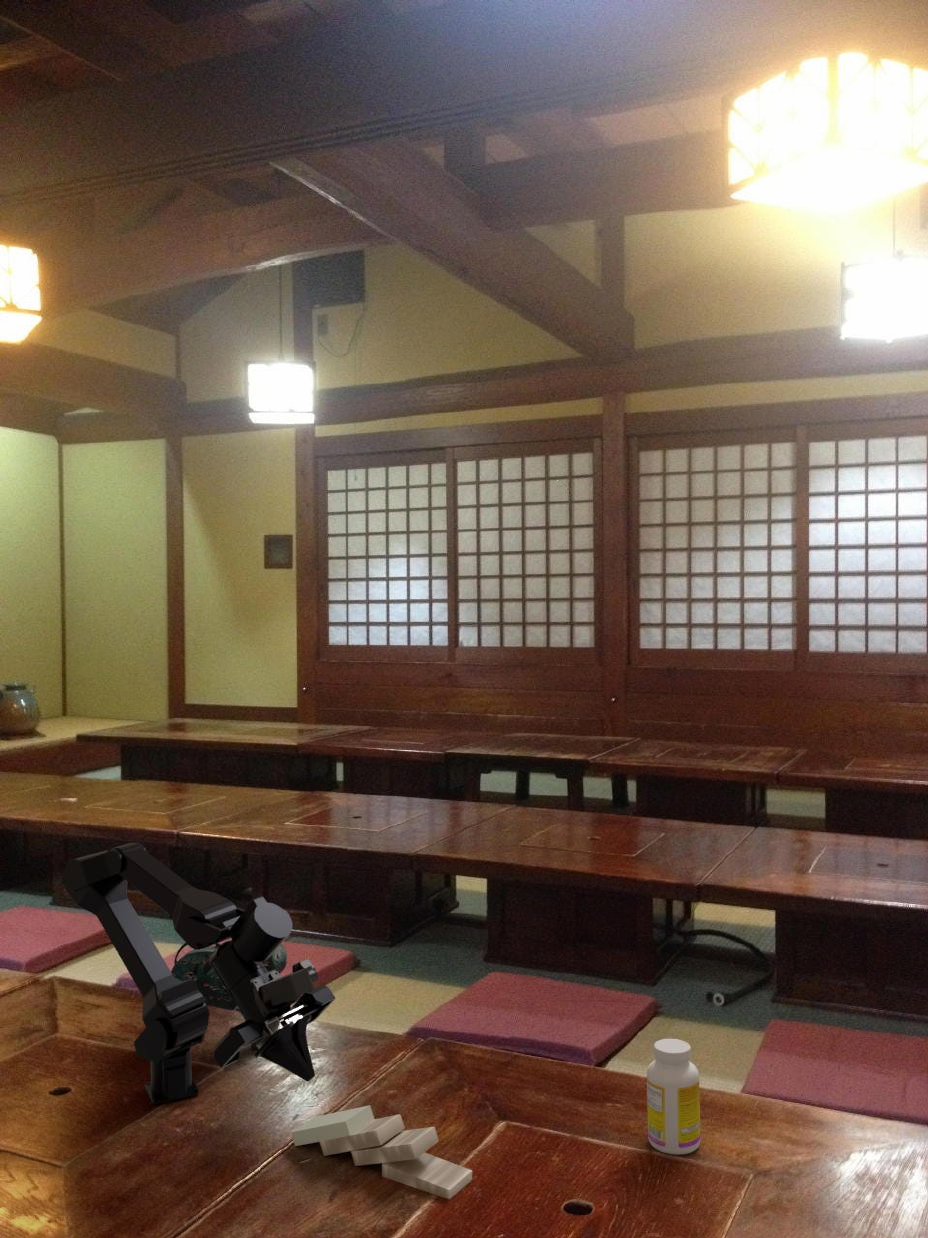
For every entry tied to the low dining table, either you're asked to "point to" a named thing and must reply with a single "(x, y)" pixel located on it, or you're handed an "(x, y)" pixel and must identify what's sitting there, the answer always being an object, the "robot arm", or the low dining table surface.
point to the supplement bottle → (673, 1099)
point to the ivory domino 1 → (365, 1136)
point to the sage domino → (332, 1126)
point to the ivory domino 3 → (429, 1174)
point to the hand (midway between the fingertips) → (311, 1079)
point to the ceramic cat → (211, 983)
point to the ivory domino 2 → (398, 1147)
